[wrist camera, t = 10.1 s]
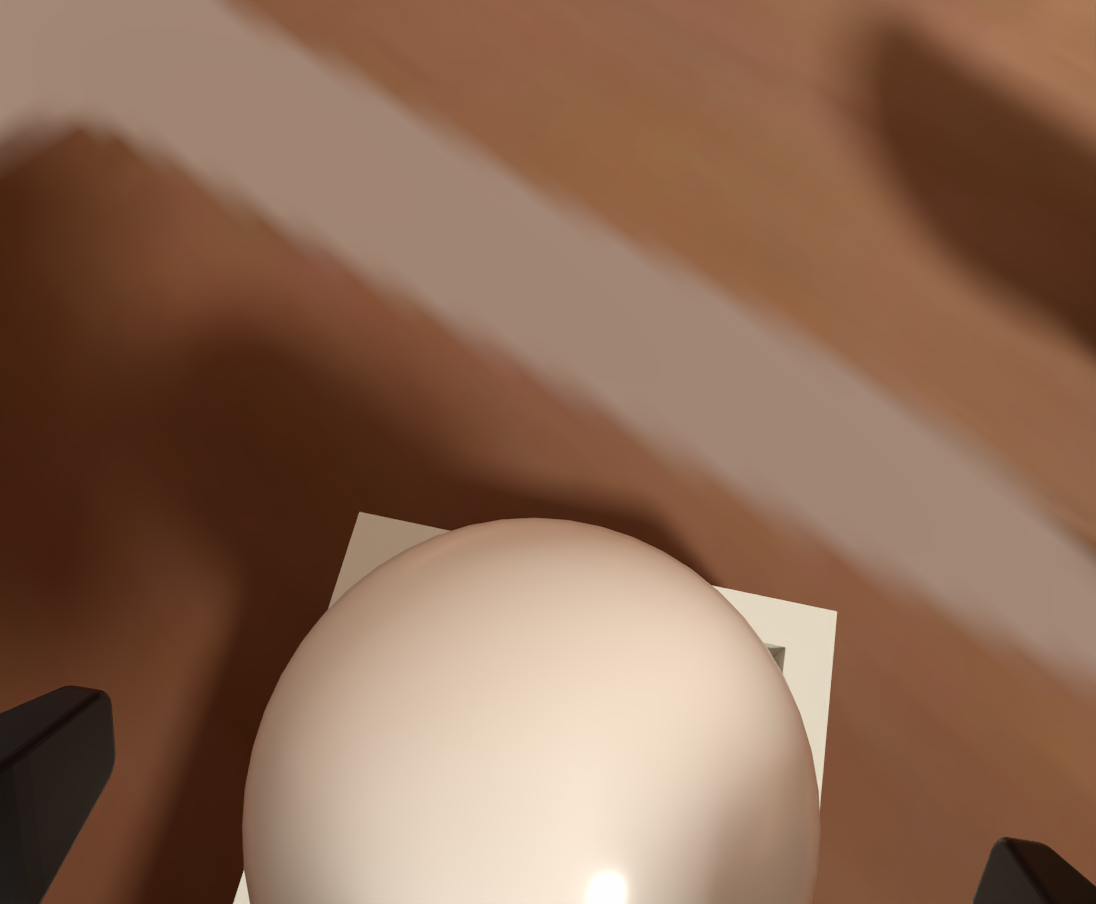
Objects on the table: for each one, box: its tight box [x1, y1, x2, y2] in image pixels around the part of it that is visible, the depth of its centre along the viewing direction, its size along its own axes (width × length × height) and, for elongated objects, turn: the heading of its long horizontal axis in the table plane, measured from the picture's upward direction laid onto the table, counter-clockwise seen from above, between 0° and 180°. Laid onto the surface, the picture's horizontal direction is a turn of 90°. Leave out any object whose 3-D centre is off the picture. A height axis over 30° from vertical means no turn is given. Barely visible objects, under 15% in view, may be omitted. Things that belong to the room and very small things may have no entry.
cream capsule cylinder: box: [242, 518, 821, 904], centre depth 11 cm, size 5×5×12 cm
